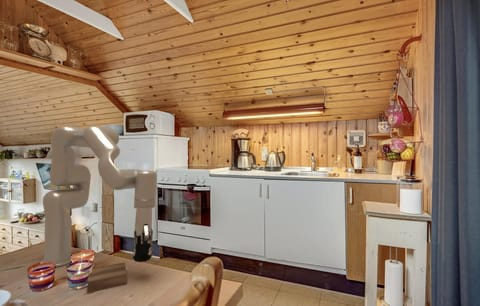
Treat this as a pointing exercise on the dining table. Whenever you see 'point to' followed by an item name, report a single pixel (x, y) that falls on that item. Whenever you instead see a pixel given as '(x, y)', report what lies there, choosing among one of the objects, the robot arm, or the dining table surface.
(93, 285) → the walnut base block
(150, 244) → the beverage can
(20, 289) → the dining table surface
